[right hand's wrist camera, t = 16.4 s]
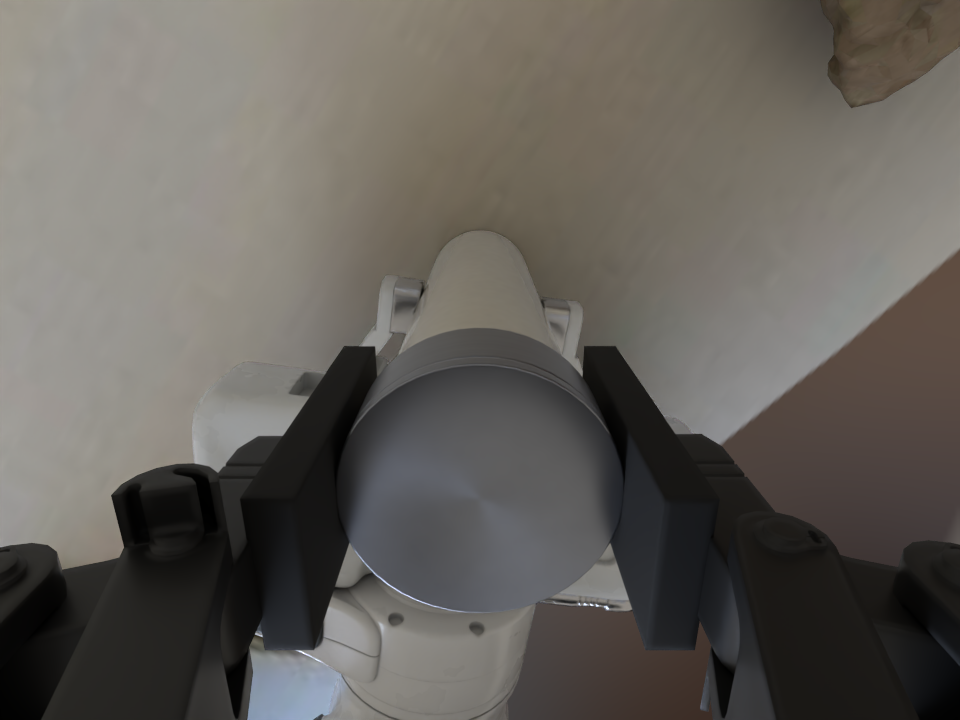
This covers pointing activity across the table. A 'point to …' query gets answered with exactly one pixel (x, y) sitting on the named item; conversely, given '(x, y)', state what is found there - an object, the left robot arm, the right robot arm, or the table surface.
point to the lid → (479, 473)
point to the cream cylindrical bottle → (480, 292)
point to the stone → (887, 43)
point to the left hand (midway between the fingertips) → (482, 290)
